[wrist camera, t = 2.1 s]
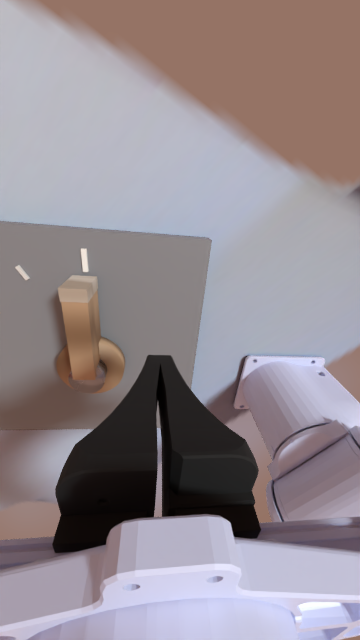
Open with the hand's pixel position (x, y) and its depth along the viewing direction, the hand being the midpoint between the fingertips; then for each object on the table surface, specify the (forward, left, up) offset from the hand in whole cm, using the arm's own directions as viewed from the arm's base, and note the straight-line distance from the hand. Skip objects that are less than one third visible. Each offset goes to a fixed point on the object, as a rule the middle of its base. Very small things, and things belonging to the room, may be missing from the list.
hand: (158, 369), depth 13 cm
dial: (+6, +3, -8) cm, 11 cm away
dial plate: (+7, +5, -10) cm, 13 cm away
